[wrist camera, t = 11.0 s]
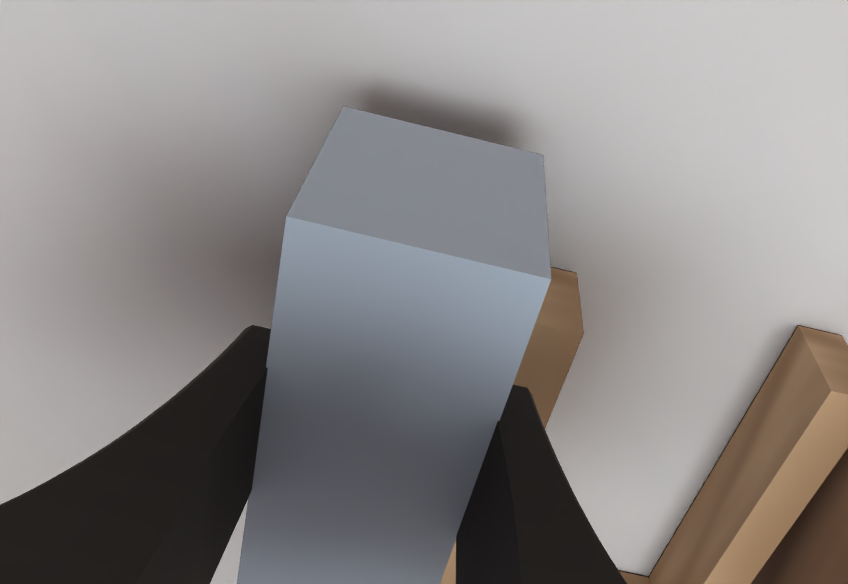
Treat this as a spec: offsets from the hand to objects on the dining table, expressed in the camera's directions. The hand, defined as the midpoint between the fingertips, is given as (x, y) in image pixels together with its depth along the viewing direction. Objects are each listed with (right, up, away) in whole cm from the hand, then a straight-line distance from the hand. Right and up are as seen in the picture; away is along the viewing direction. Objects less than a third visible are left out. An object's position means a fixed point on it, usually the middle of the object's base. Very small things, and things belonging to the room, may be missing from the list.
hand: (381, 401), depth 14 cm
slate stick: (0, +1, +2) cm, 3 cm away
